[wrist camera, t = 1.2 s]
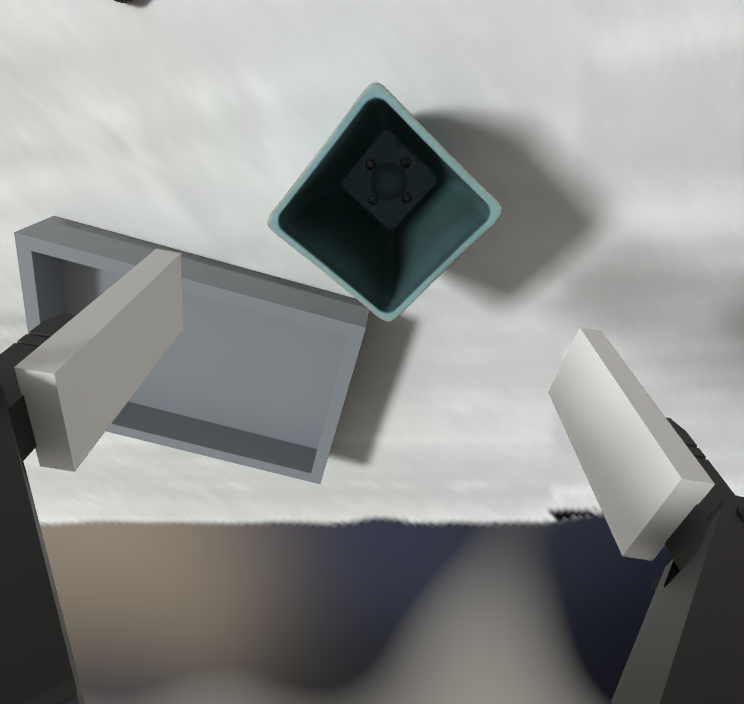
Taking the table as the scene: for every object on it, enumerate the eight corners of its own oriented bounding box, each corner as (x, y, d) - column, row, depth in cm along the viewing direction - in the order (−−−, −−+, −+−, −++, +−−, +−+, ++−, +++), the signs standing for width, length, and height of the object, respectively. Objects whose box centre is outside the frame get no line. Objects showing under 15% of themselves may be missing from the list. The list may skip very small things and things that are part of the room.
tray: (370, 303, 36) (366, 327, 33) (327, 452, 45) (320, 484, 41) (53, 215, 35) (14, 232, 31) (69, 387, 43) (39, 414, 40)
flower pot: (485, 175, 31) (508, 212, 24) (394, 269, 35) (388, 327, 27) (385, 72, 29) (374, 76, 21) (299, 186, 32) (262, 224, 25)
